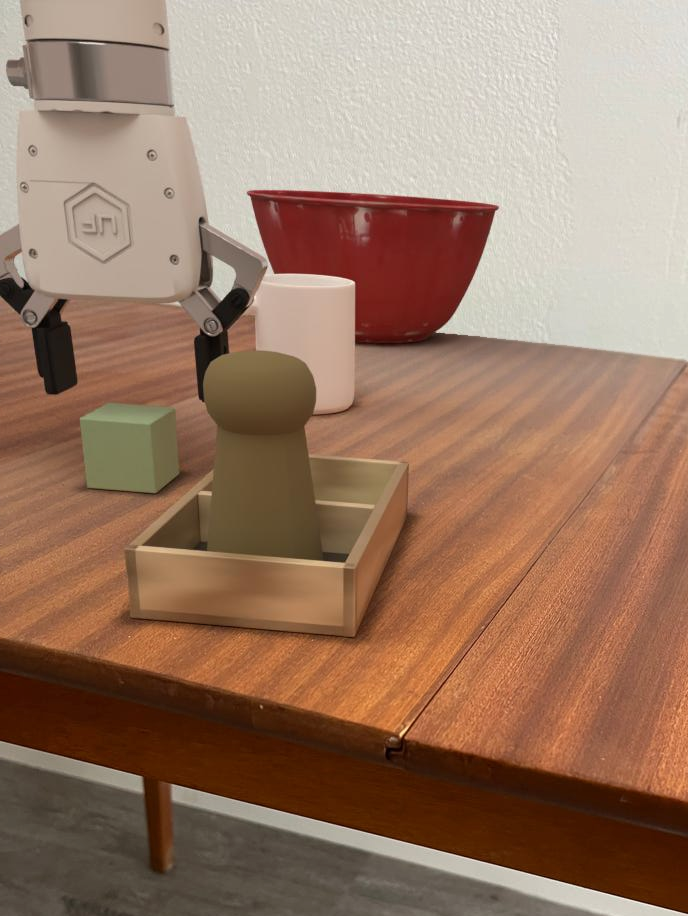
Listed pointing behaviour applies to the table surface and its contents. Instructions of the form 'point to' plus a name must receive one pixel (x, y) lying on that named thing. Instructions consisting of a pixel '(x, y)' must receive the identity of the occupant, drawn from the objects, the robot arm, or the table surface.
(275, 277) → the mug
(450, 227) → the mixing bowl
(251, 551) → the olive pawn
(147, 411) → the green block
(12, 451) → the table surface
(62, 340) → the robot arm
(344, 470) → the tray
